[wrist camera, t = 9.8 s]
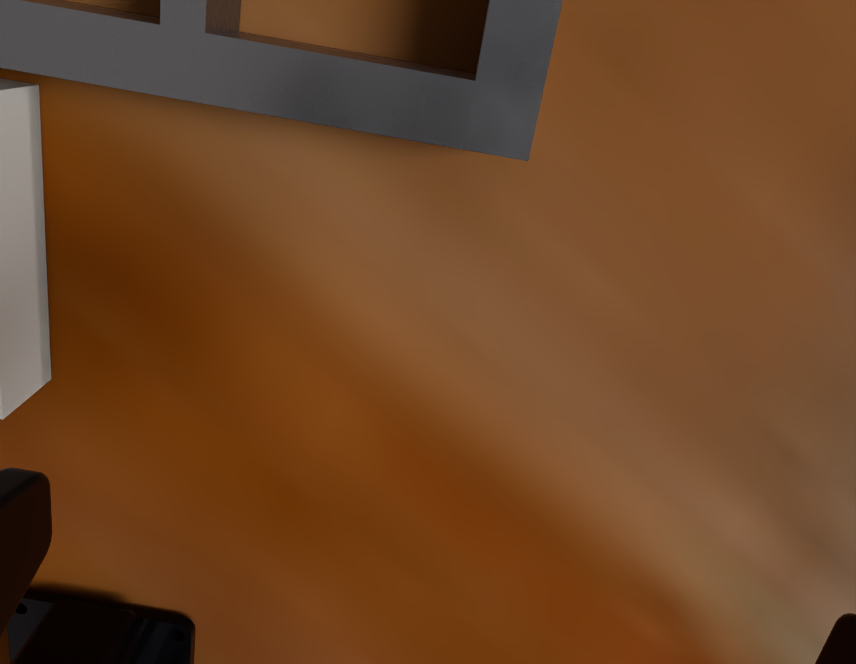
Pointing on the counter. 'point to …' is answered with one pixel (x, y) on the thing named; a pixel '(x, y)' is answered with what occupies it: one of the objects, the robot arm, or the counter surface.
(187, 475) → the counter surface
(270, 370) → the counter surface
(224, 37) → the grey rectangular frame
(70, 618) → the robot arm
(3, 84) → the parts tray
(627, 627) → the counter surface
